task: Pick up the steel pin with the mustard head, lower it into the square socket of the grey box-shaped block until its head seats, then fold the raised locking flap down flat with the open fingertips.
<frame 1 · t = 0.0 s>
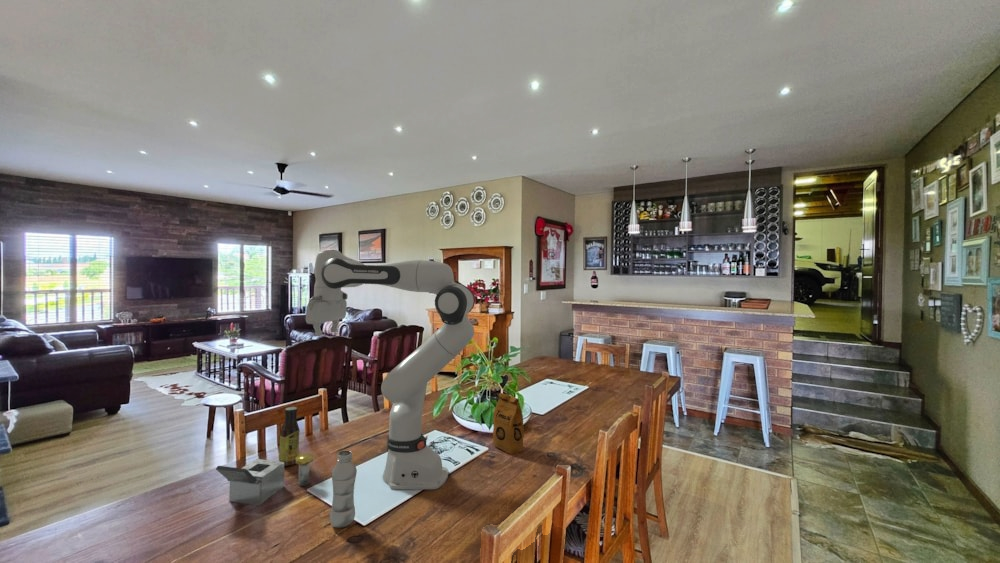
hand: (326, 333, 146), 48 cm above the table, fingers open, 8 cm apart
plastic bottle: (342, 524, 114), on the table
locking tab: (237, 475, 119), point 10 cm above the table, hinge at 50.0°
coffee package: (508, 449, 167), on the table
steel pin: (303, 483, 134), on the table
grey box-shaped block: (258, 492, 128), on the table
sauce bottle: (288, 463, 148), on the table
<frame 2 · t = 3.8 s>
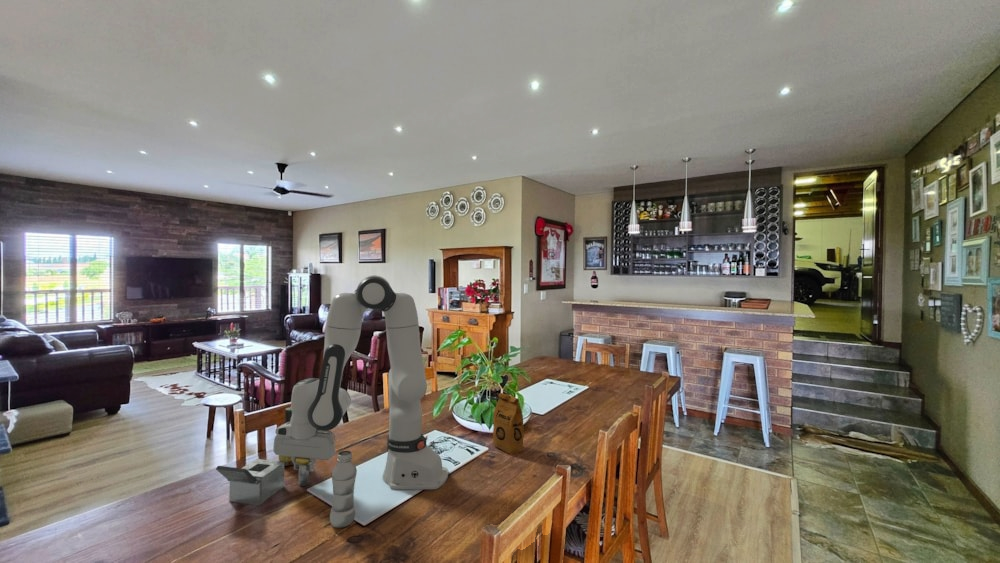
hand: (304, 469, 134), 5 cm above the table, fingers closed on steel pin, 3 cm apart
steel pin: (303, 483, 134), on the table, touching gripper
everything else where it was.
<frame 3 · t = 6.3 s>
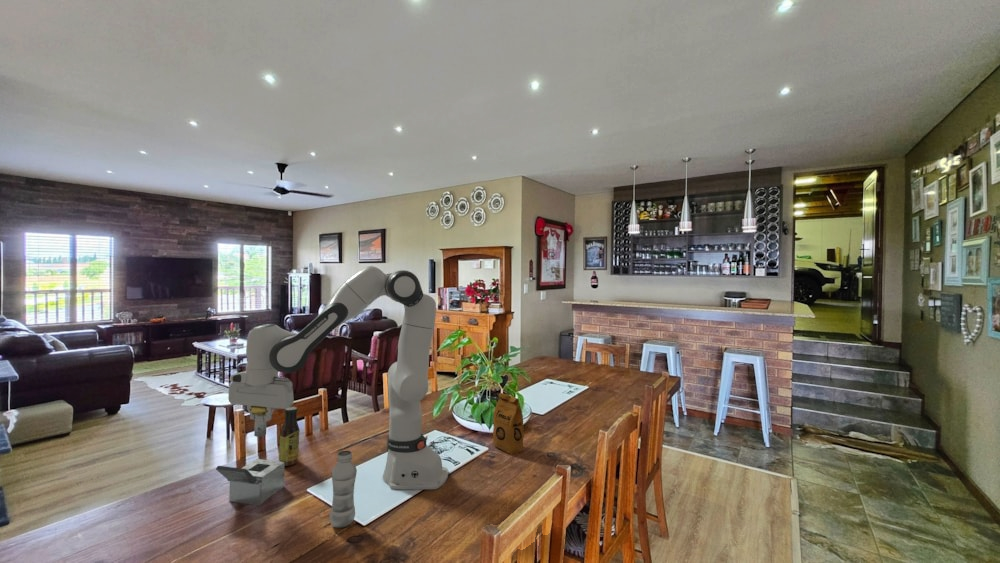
hand: (260, 419, 128), 23 cm above the table, fingers closed on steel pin, 3 cm apart
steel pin: (260, 434, 128), point 18 cm above the table, touching gripper
everything else where it was.
when the fingers open (9 cm above the table, at t = 9.1 s): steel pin drops 1 cm, resting on grey box-shaped block.
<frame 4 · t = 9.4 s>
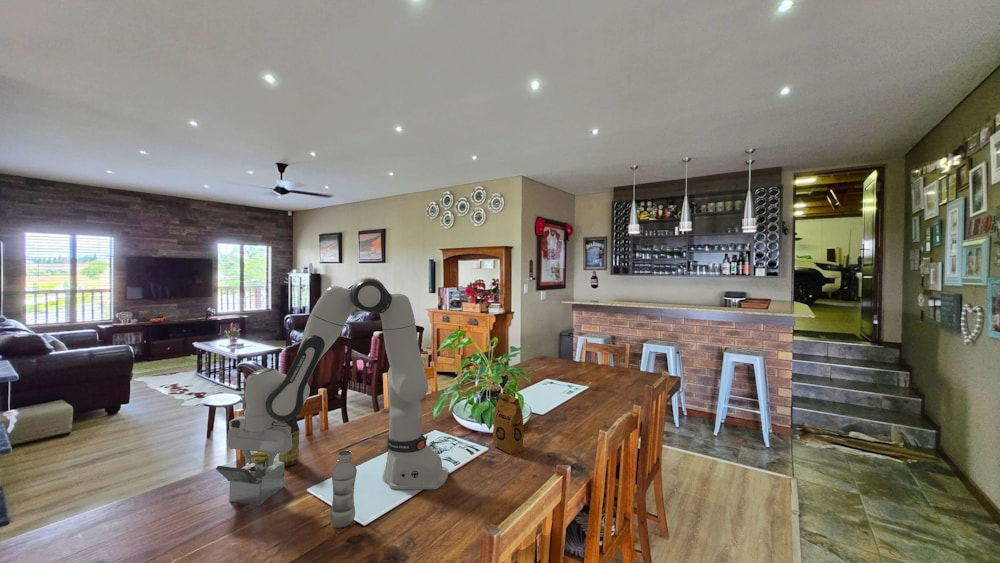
hand: (259, 464, 128), 9 cm above the table, fingers open, 5 cm apart
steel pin: (261, 482, 128), point 3 cm above the table, touching gripper, grey box-shaped block
everything else where it was.
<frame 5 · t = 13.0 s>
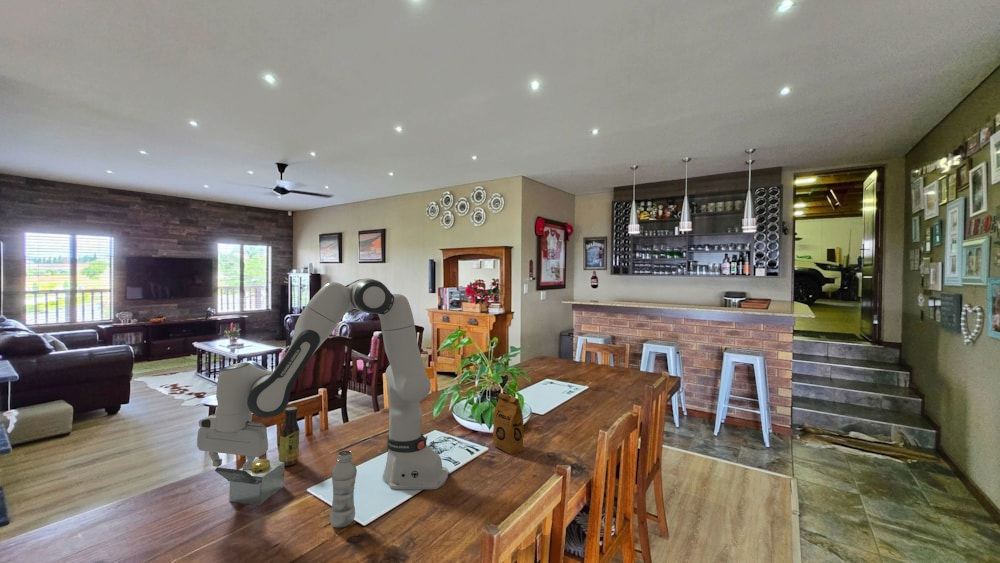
hand: (232, 467, 117), 13 cm above the table, fingers open, 8 cm apart
locking tab: (237, 476, 119), point 10 cm above the table, hinge at 46.8°, touching gripper
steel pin: (259, 491, 128), resting on grey box-shaped block
everything else where it was.
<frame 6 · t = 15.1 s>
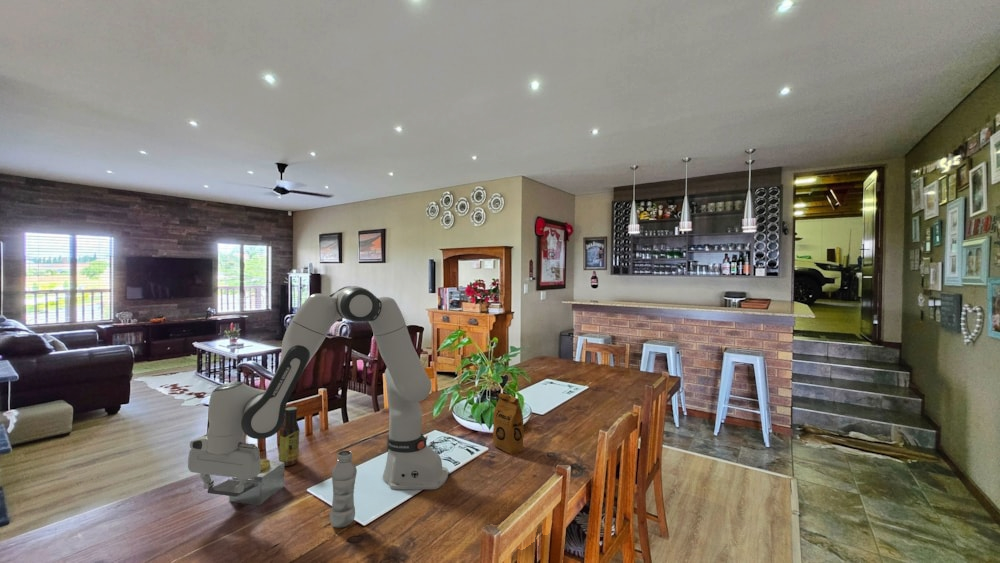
hand: (223, 489, 114), 8 cm above the table
locking tab: (233, 487, 118), point 7 cm above the table, hinge at 7.2°, touching gripper
everything else where it was.
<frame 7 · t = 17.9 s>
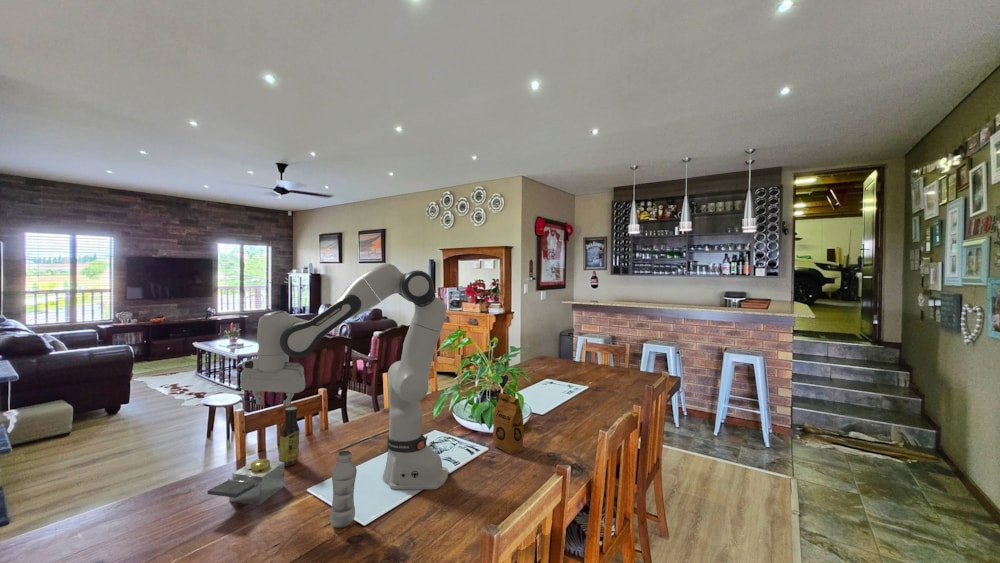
hand: (273, 404, 130), 27 cm above the table, fingers open, 8 cm apart
locking tab: (233, 488, 118), point 7 cm above the table, hinge at 5.1°
everything else where it was.
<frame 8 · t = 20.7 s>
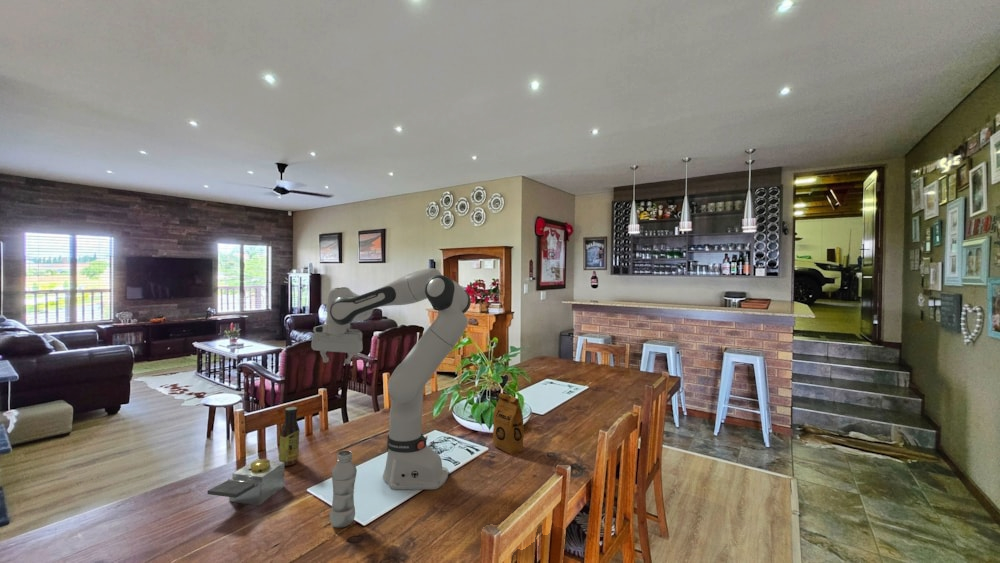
hand: (336, 362, 161), 34 cm above the table, fingers open, 8 cm apart
nothing on the table moved.
at the end: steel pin 0.3 cm off-centre on the grey box-shaped block, point 0.5 cm above the grey box-shaped block's base; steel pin tilted 0°; locking tab at +5° (first picture: +50°) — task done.
